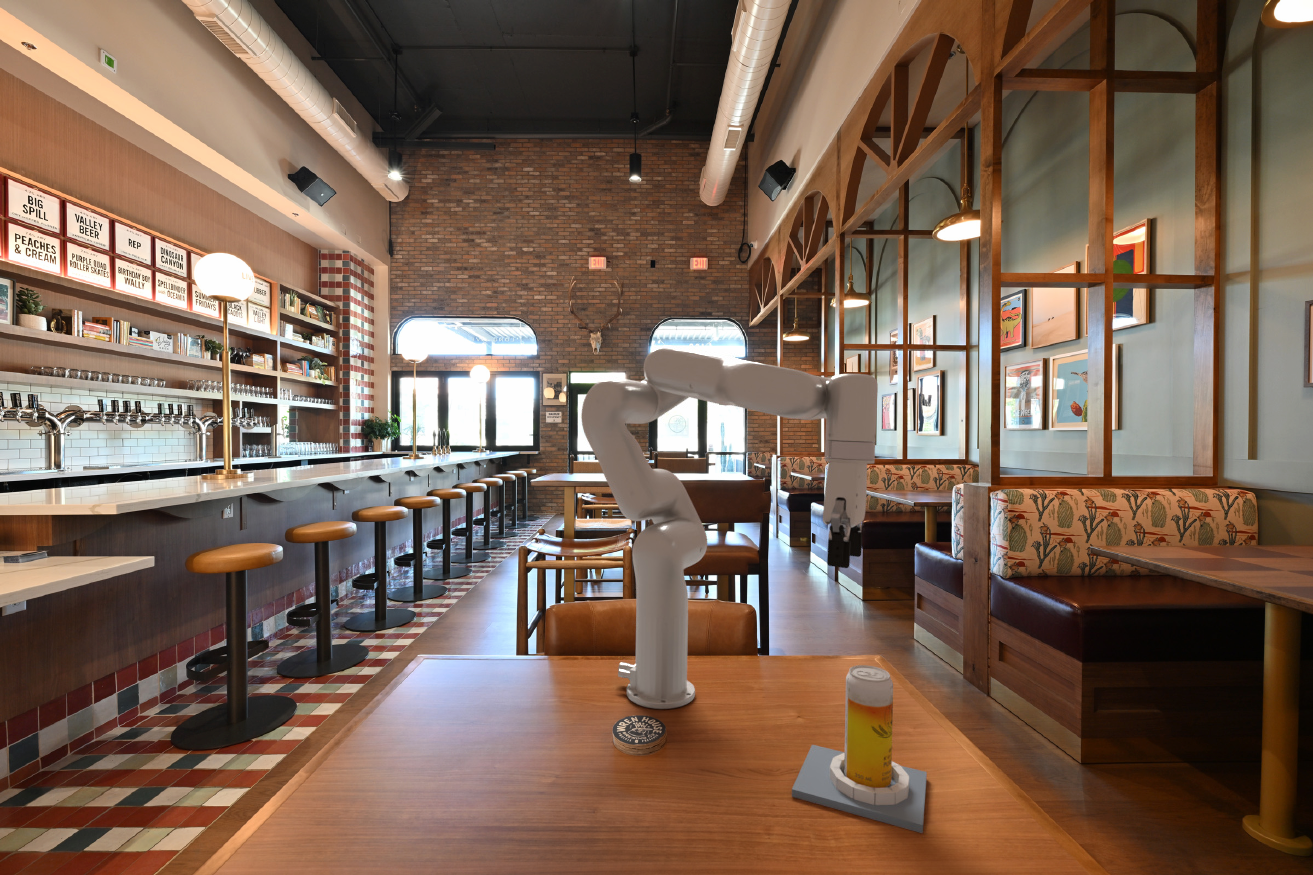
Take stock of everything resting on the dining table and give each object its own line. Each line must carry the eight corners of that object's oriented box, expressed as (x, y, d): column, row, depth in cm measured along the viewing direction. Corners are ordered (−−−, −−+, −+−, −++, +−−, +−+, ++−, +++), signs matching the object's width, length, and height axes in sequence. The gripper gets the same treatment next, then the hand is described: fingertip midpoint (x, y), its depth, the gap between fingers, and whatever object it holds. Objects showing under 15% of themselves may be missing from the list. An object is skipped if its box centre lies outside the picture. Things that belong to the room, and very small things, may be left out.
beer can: (894, 797, 79) (897, 683, 79) (846, 791, 80) (848, 678, 80) (887, 772, 85) (889, 666, 85) (842, 766, 86) (844, 662, 86)
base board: (791, 796, 81) (792, 777, 81) (812, 750, 92) (812, 734, 92) (922, 833, 74) (922, 812, 74) (926, 778, 85) (926, 761, 85)
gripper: (837, 450, 105) (832, 548, 105) (811, 452, 89) (807, 567, 90) (882, 453, 101) (878, 554, 101) (864, 455, 86) (859, 575, 86)
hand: (844, 560), depth 96 cm, fingers open, 9 cm apart
